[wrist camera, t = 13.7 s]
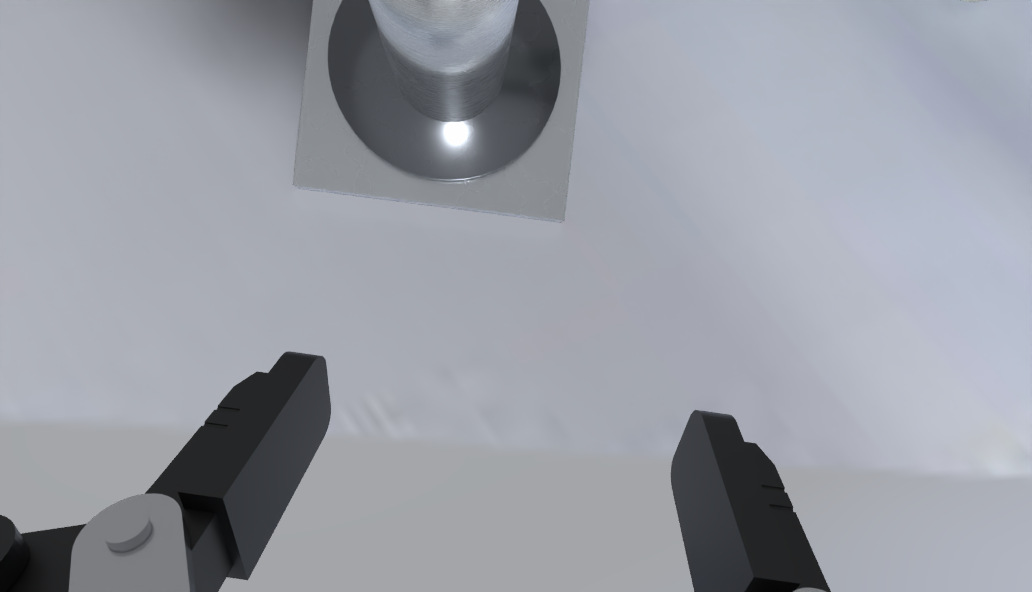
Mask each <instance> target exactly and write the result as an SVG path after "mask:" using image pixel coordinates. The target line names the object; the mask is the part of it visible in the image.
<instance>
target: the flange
mask: <svg viewBox="0 0 1032 592" xmlns="http://www.w3.org/2000/svg"><path fill="white" fill-rule="evenodd" d="M588 8H589V0H519V1H518V6H517V12H516V17H515V22H514V27H513V32H512V38H511V43H510V48H509V53H508V59H507V64H506V69H505V74H504V80H503V84H502V87H501V90H500V92H499V94H498V96H497V97H496V99H495V100H494V102H493V103H492V104H491V105H490V106H489V107H488V108H487V109H486V110H485V111H484V112H482V113H481V114H479V115H478V116H475V117H473V118H471V119H468V120H465V121H460V122H442V121H437V120H434V119H431V118H428V117H426V116H424V115H422V114H421V113H419V112H418V111H416V110H415V109H414V108H413V107H412V106H411V105H410V104H409V103H408V102H407V101H406V100H405V99H404V97H403V96H402V94H401V92H400V91H399V89H398V87H397V84H396V81H395V78H394V75H393V72H392V69H391V66H390V63H389V60H388V57H387V54H386V51H385V48H384V45H383V42H382V39H381V36H380V33H379V30H378V27H377V24H376V21H375V18H374V15H373V12H372V9H371V6H370V3H369V0H313V6H312V15H311V24H310V33H309V42H308V51H307V60H306V69H305V78H304V88H303V97H302V106H301V115H300V124H299V133H298V142H297V151H296V160H295V169H294V179H293V185H294V186H295V187H297V188H299V189H306V190H313V191H321V192H329V193H337V194H344V195H352V196H360V197H367V198H375V199H383V200H391V201H398V202H406V203H414V204H422V205H429V206H437V207H445V208H452V209H460V210H468V211H476V212H483V213H491V214H499V215H506V216H514V217H522V218H530V219H537V220H545V221H553V222H560V223H561V222H563V221H564V219H565V210H566V201H567V192H568V183H569V175H570V166H571V157H572V148H573V140H574V131H575V122H576V113H577V104H578V96H579V87H580V78H581V69H582V60H583V52H584V43H585V34H586V25H587V17H588Z"/></svg>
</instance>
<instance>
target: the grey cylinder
mask: <svg viewBox="0 0 1032 592" xmlns="http://www.w3.org/2000/svg"><path fill="white" fill-rule="evenodd" d="M518 1H519V0H369V3H370V6H371V9H372V12H373V15H374V18H375V21H376V24H377V27H378V30H379V33H380V36H381V39H382V42H383V45H384V48H385V51H386V54H387V57H388V60H389V63H390V66H391V69H392V72H393V75H394V78H395V81H396V84H397V87H398V89H399V91H400V92H401V94H402V96H403V97H404V99H405V100H406V101H407V102H408V103H409V104H410V105H411V106H412V107H413V108H414V109H415V110H416V111H418V112H419V113H421V114H422V115H424V116H426V117H428V118H431V119H434V120H437V121H442V122H460V121H465V120H468V119H471V118H473V117H475V116H478V115H479V114H481V113H482V112H484V111H485V110H486V109H487V108H488V107H489V106H490V105H491V104H492V103H493V102H494V100H495V99H496V97H497V96H498V94H499V92H500V90H501V87H502V84H503V80H504V74H505V69H506V64H507V59H508V53H509V48H510V43H511V38H512V32H513V27H514V22H515V17H516V12H517V6H518Z"/></svg>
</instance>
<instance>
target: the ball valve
mask: <svg viewBox="0 0 1032 592" xmlns="http://www.w3.org/2000/svg"><path fill="white" fill-rule="evenodd" d="M960 1H966V2H980V1H987V0H960Z"/></svg>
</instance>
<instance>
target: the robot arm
mask: <svg viewBox="0 0 1032 592" xmlns="http://www.w3.org/2000/svg"><path fill="white" fill-rule="evenodd" d="M330 415H331V403H330V394H329V385H328V376H327V367H326V361H325V359H324V357H323V356H317V355H310V354H303V353H296V352H285V353H284V354H283V355H282V356H281V357H280V359H279V360H278V361H277V362H276V364H275V365H274V366H273V368H272V369H271V370H270V372H269V373H263V372H256V373H254V374H253V375H251V376H249V377H248V378H246V379H245V380H243V381H242V382H240V383H239V384H237V385H236V386H234V387H233V388H232V389H231V391H230V392H229V393H228V394H227V395H226V397H225V398H224V399H223V400H222V401H221V403H220V404H219V405H218V408H217V410H214V411H213V412H212V414H211V415H210V416H209V417H208V418H207V420H206V421H205V424H204V426H201V427H200V428H199V429H198V431H197V432H196V433H195V434H194V435H193V437H192V438H191V439H190V440H189V442H188V443H187V444H186V445H185V446H184V447H183V449H182V450H181V451H180V452H179V454H178V455H177V456H176V457H175V458H174V460H173V461H172V462H171V463H170V464H169V466H168V467H167V468H166V469H165V471H164V472H163V473H162V474H161V475H160V477H159V478H158V479H157V480H156V481H155V483H154V484H153V485H152V486H151V487H150V488H149V490H148V491H147V492H146V493H145V494H141V495H136V496H133V497H129V498H126V499H124V500H121V501H119V502H117V503H115V504H113V505H111V506H109V507H107V508H106V509H104V510H103V511H101V512H100V513H99V514H97V515H96V516H95V517H94V518H92V520H91V521H89V522H88V523H87V524H83V525H78V526H71V527H64V528H57V529H50V530H44V531H37V532H30V533H24V534H20V533H19V531H18V530H17V528H16V527H15V525H14V524H13V522H12V521H11V520H10V519H8V518H7V517H4V516H2V515H0V592H218V591H219V589H220V587H221V586H222V584H223V582H224V580H225V579H226V577H230V578H237V579H244V580H248V579H249V577H250V575H251V573H252V571H253V569H254V567H255V566H256V564H257V562H258V560H259V558H260V556H261V554H262V552H263V551H264V549H265V547H266V545H267V543H268V541H269V539H270V538H271V536H272V534H273V532H274V530H275V528H276V526H277V524H278V523H279V521H280V519H281V517H282V515H283V513H284V511H285V509H286V507H287V505H288V503H289V502H290V500H291V498H292V496H293V494H294V492H295V490H296V489H297V487H298V485H299V483H300V481H301V479H302V477H303V476H304V473H305V472H306V470H307V468H308V466H309V464H310V462H311V461H312V459H313V457H314V455H315V453H316V451H317V449H318V447H319V446H320V444H321V442H322V440H323V438H324V436H325V434H326V431H327V429H328V425H329V421H330ZM671 484H672V490H673V495H674V499H675V504H676V508H677V513H678V518H679V523H680V527H681V532H682V537H683V541H684V546H685V550H686V555H687V560H688V564H689V569H690V574H691V578H692V582H693V587H694V592H831V591H830V589H829V587H828V585H827V583H826V580H825V578H824V576H823V574H822V572H821V569H820V567H819V565H818V562H817V560H816V558H815V556H814V554H813V551H812V549H811V546H810V544H809V542H808V540H807V538H806V535H805V533H804V531H803V529H802V526H801V524H800V522H799V519H798V517H797V515H796V513H795V512H793V506H792V503H791V501H790V499H789V497H788V494H787V493H785V492H784V485H783V483H782V481H781V479H780V476H779V474H778V472H777V469H776V467H775V465H774V464H773V463H772V461H771V460H770V459H769V458H768V457H767V456H766V455H765V453H764V452H763V451H762V450H761V449H760V448H759V447H758V445H757V444H756V443H749V442H744V440H743V437H742V435H741V432H740V430H739V427H738V425H737V422H736V420H735V419H734V417H733V416H732V415H727V414H720V413H713V412H706V411H699V410H695V411H694V412H693V413H692V414H691V416H690V418H689V421H688V423H687V425H686V428H685V430H684V433H683V435H682V438H681V440H680V442H679V445H678V447H677V450H676V452H675V455H674V457H673V461H672V467H671Z"/></svg>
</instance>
